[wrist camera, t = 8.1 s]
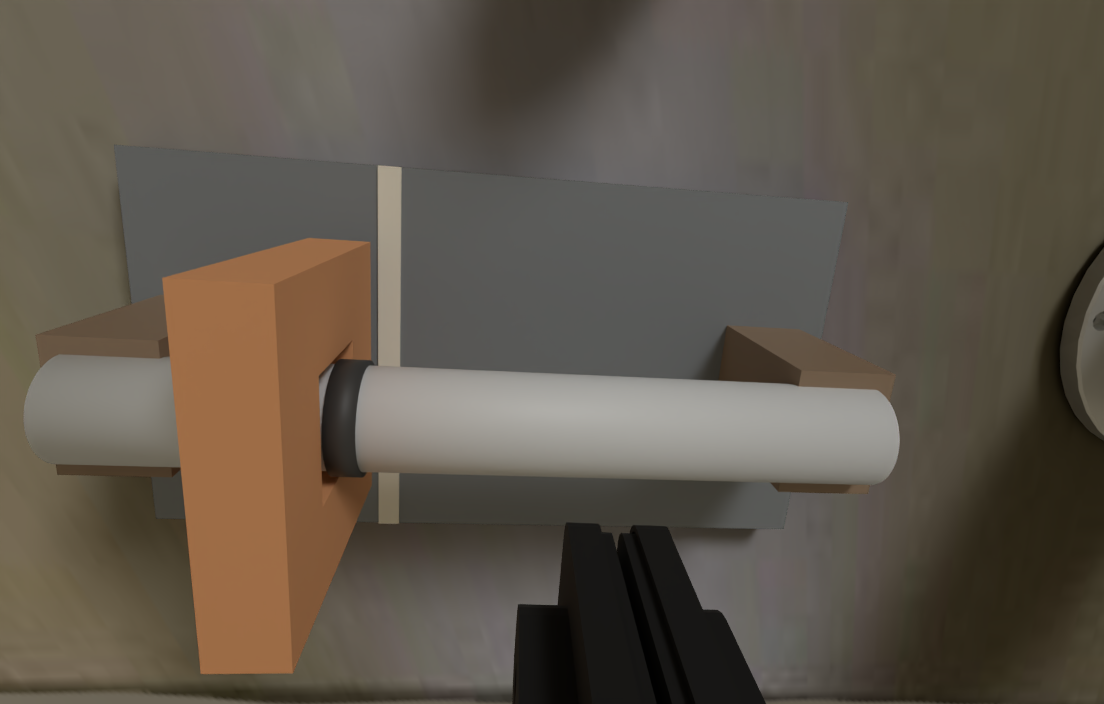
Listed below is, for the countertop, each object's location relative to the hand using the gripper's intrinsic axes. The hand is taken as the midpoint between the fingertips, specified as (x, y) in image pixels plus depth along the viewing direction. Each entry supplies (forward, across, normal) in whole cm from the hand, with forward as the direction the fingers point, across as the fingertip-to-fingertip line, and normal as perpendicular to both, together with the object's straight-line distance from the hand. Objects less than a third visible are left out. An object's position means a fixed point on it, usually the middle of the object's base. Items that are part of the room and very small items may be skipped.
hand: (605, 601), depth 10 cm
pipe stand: (+15, +2, 0) cm, 15 cm away
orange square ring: (+12, +8, 0) cm, 14 cm away
